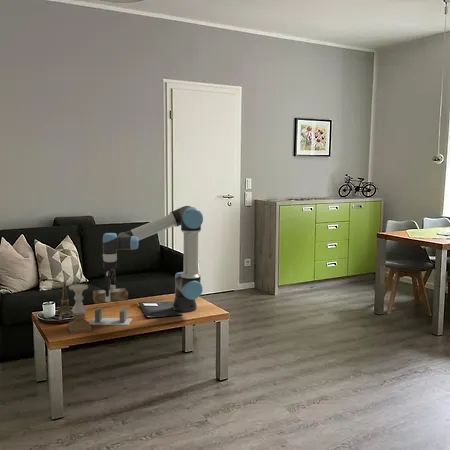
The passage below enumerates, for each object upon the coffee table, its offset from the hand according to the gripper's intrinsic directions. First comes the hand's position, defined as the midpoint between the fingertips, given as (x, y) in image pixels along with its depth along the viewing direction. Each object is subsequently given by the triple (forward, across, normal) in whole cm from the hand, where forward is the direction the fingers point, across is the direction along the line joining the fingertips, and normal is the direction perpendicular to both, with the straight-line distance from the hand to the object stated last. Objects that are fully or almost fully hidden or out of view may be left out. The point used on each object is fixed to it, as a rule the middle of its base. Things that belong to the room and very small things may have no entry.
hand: (110, 298), depth 286 cm
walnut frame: (+1, 0, 0) cm, 1 cm away
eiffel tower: (+14, -9, -29) cm, 33 cm away
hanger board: (+14, 0, 0) cm, 14 cm away
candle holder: (+14, +13, -14) cm, 24 cm away
